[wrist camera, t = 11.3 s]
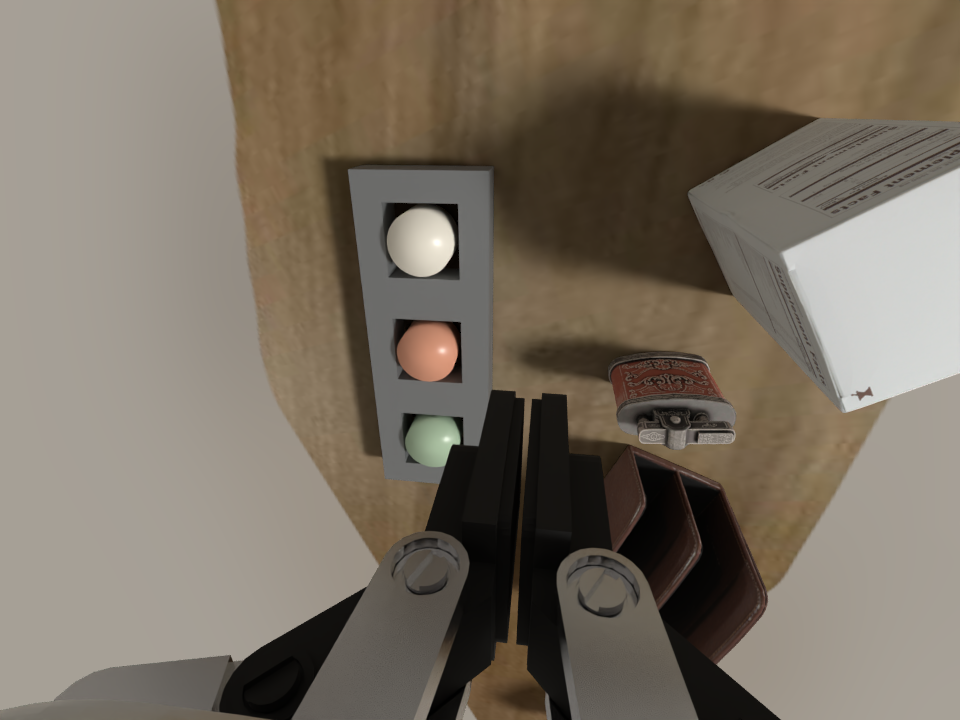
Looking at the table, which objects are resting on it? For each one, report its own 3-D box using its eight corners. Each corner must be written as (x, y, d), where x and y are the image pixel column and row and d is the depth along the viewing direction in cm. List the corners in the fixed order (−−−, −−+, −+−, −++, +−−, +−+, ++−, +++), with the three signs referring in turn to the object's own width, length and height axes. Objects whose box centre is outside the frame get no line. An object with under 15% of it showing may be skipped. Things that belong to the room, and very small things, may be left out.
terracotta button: (404, 312, 41) (394, 327, 39) (460, 315, 41) (454, 330, 38) (408, 363, 44) (399, 379, 41) (462, 366, 43) (455, 383, 40)
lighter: (607, 387, 43) (620, 460, 34) (608, 353, 41) (622, 419, 33) (705, 386, 42) (745, 461, 33) (709, 350, 40) (752, 419, 31)
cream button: (396, 202, 37) (383, 210, 35) (458, 203, 37) (450, 211, 34) (400, 264, 40) (390, 275, 37) (459, 266, 39) (452, 278, 36)
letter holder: (723, 482, 46) (784, 620, 34) (615, 601, 55) (633, 744, 43) (628, 441, 45) (655, 567, 33) (535, 568, 55) (529, 704, 42)
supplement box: (864, 238, 35) (1093, 337, 20) (732, 299, 38) (845, 424, 23) (822, 110, 32) (1056, 115, 17) (682, 189, 35) (776, 251, 20)
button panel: (362, 164, 37) (347, 169, 34) (493, 166, 36) (489, 170, 33) (394, 459, 50) (385, 478, 47) (491, 467, 49) (487, 488, 46)
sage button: (412, 403, 46) (403, 421, 43) (463, 406, 45) (457, 425, 42) (415, 445, 48) (407, 464, 45) (464, 448, 47) (458, 469, 45)
